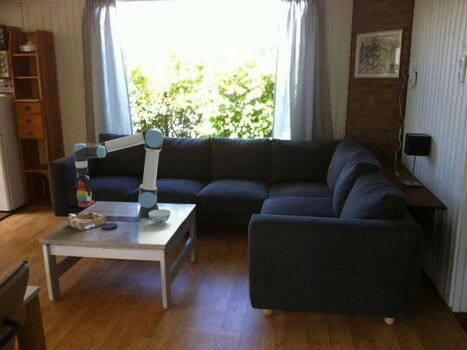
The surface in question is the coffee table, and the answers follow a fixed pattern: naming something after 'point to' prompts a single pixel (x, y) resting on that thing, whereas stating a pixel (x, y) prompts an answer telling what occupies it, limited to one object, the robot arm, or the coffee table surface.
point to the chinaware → (159, 216)
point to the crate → (94, 218)
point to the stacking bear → (83, 195)
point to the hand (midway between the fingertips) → (84, 199)
